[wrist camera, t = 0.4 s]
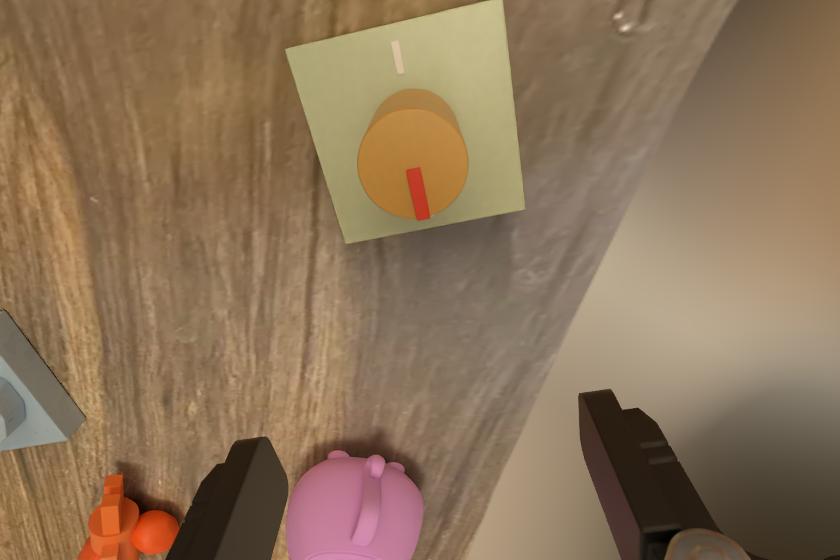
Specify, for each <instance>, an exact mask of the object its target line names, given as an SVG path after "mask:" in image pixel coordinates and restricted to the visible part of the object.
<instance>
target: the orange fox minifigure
mask: <svg viewBox="0 0 840 560" xmlns="http://www.w3.org/2000/svg"><path fill="white" fill-rule="evenodd" d="M179 529H180V528H179V525H178V522H177V520H176V519H175V517H174V516H172V515H170V514H168V513H167V512H165V511H159V510H152V511H148V512H145V513H143V514H142V515H140V516H139V508H138V506H137V504H136V503H135V502H134V501H132V500H130V499H127V497H124V487H123V474H122V475H111V476H106V480H105V484H104V496H103V500H102V504H101V505H100V506H99V507H97V508H96V509H95V510H94V512H93V513H92V514H91V516H90V519H89V533H90V537H89V538H88V539H87V541H86V543H85V545H84V546H83V548H82V550H81V552H80V555H79V557H78V560H139V557H140V551H141V552H143V553H145V554H147V555H155V554H157V553H162V552H165V551H166V550H169V548H170V547H171V546H172V544H173V542H174V540H175V538H176V536H177V534H178V532H179Z"/></svg>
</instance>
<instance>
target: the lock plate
mask: <svg viewBox="0 0 840 560" xmlns="http://www.w3.org/2000/svg"><path fill="white" fill-rule="evenodd" d="M285 52H286V55H287V59H288V62H289V65H290V68H291V71H292V75H293V78H294V81H295V84H296V87H297V91H298V94H299V97H300V100H301V103H302V107H303V110H304V113H305V116H306V119H307V123H308V126H309V129H310V132H311V135H312V138H313V142H314V145H315V148H316V151H317V154H318V158H319V161H320V164H321V167H322V170H323V174H324V177H325V180H326V183H327V186H328V190H329V193H330V196H331V199H332V202H333V206H334V209H335V212H336V215H337V218H338V222H339V225H340V228H341V231H342V234H343V237H344V241H345V243H346V244H349V243H355V242H360V241H365V240H370V239H375V238H380V237H386V236H391V235H396V234H401V233H406V232H411V231H417V230H422V229H427V228H432V227H437V226H443V225H448V224H453V223H458V222H463V221H468V220H474V219H479V218H484V217H489V216H494V215H499V214H505V213H510V212H515V211H520V210H525V200H524V190H523V181H522V172H521V163H520V153H519V144H518V135H517V126H516V117H515V107H514V98H513V89H512V80H511V70H510V61H509V52H508V43H507V33H506V24H505V15H504V6H503V0H487V1H483V2H479V3H474V4H470V5H466V6H462V7H458V8H454V9H449V10H445V11H441V12H437V13H433V14H429V15H424V16H420V17H416V18H412V19H408V20H403V21H399V22H395V23H391V24H387V25H383V26H378V27H374V28H370V29H366V30H362V31H358V32H353V33H349V34H345V35H341V36H337V37H332V38H328V39H324V40H320V41H316V42H312V43H307V44H303V45H299V46H295V47H291V48H287V49H285ZM407 89H422V90H426V91H429V92H432V93H434V94H436V95H437V96H439V97H441V98H442V99H443V100H444V101H445V102H446V103H447V104H448V105H449V106H450V108H451V109H452V111H453V113H454V114H455V117H456V119H457V122H458V125H459V128H460V131H461V134H462V136H463V139H464V142H465V145H466V148H467V153H468V160H469V169H468V175H467V179H466V182H465V185H464V187H463V189H462V191H461V193H460V194H459V196H458V197H457V198H456V199H455V201H454V202H453V203H452V204H450V205H449V206H448V207H447V208H445V209H444V210H442V211H441V212H439V213H437V214H434V215H432V216H430V217H431V218H430V219H426V220H421V221H417V219H409V218H402V217H398V216H395V215H392V214H390V213H388V212H386V211H384V210H383V209H381V208H380V207H378V206H377V205H376V204H375V203H374V202H373V201H372V200H371V199H370V198H369V197H368V195H367V194H366V192H365V191H364V189H363V187H362V185H361V182H360V179H359V175H358V169H357V156H358V151H359V147H360V144H361V141H362V139H363V137H364V135H365V133H366V131H367V129H368V127H369V124H370V122H371V120H372V118H373V116H374V114H375V112H376V110H377V109H378V107H379V106H380V105H381V104H382V102H383V101H384V100H386V99H387V98H388V97H389V96H391V95H393V94H395V93H397V92H399V91H402V90H407Z"/></svg>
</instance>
